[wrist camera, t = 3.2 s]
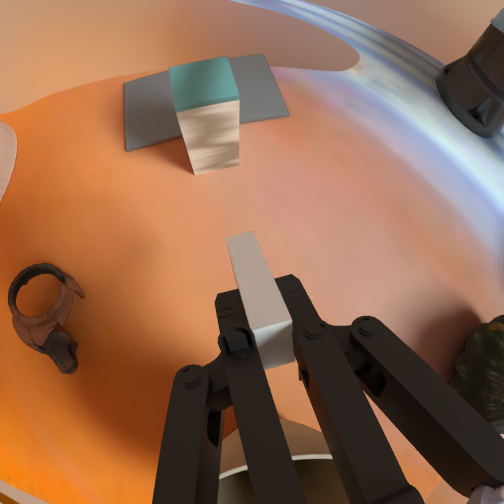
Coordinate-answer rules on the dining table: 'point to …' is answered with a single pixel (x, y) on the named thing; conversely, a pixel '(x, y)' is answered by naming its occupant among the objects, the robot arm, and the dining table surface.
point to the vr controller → (47, 318)
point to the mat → (163, 111)
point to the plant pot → (305, 461)
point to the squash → (483, 372)
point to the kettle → (6, 155)
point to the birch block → (207, 113)
